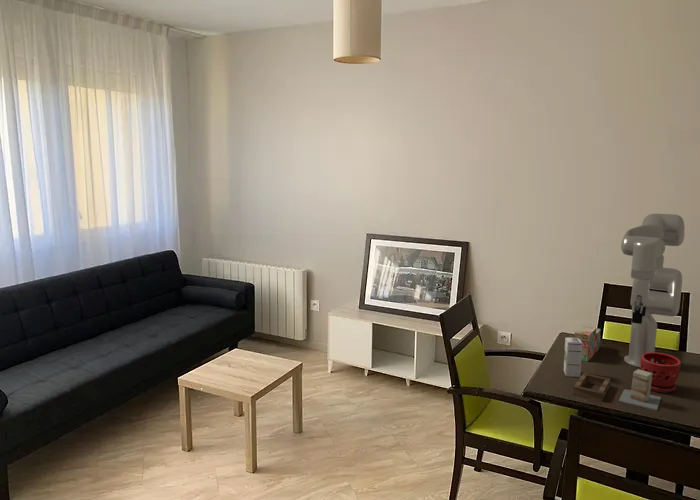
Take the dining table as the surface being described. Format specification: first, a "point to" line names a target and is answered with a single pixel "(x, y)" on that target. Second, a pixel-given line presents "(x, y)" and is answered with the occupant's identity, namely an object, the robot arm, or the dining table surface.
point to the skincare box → (641, 385)
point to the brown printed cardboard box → (588, 341)
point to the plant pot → (661, 370)
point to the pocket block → (590, 393)
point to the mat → (649, 404)
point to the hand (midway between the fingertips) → (638, 319)
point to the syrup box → (572, 357)
